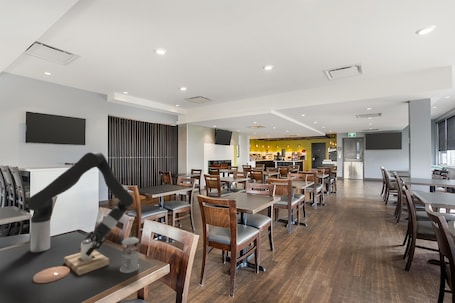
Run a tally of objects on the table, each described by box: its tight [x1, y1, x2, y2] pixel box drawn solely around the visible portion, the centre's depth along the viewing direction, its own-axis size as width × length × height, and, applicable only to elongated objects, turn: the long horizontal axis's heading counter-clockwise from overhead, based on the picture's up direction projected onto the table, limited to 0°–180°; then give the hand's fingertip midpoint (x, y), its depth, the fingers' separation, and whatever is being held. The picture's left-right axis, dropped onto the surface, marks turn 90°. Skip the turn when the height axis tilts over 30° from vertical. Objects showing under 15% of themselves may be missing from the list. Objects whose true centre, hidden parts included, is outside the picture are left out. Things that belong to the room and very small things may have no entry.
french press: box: [119, 218, 140, 274], centre depth 120 cm, size 10×12×25 cm
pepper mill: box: [80, 239, 92, 262], centre depth 124 cm, size 5×5×12 cm
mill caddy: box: [63, 249, 110, 276], centre depth 124 cm, size 20×14×3 cm
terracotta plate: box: [32, 265, 71, 284], centre depth 112 cm, size 14×14×1 cm
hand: (83, 252), depth 123 cm, fingers open, 8 cm apart
